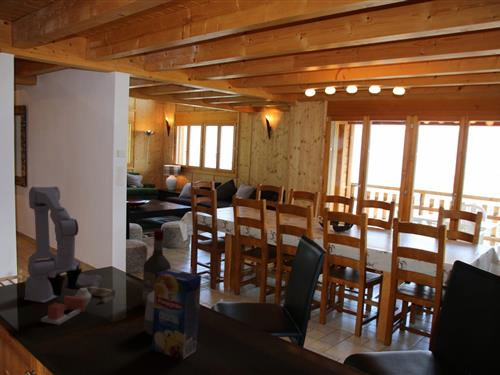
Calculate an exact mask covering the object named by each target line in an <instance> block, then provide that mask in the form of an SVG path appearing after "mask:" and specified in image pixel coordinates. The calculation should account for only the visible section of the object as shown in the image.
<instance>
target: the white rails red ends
mask: <svg viewBox="0 0 500 375" xmlns="http://www.w3.org/2000/svg"><path fill="white" fill-rule="evenodd" d="M63 297H64V299H63V302H64V303H61V302H53V303H51V304H49V305H48V306H47V315H46V316H43V317H42V318H41V319H40V321H41V322H40V323H47V324H53V325H61V324H63V323H64V322H66V321H68V320H70V319H72V318H73V317H76V315H78V314H81V313H84V312H86V306H85V299H84V298H78V297H74V296H71V295H65V296H63ZM68 309H69V311H70V312H69V313H67V314H65V311H68Z"/></svg>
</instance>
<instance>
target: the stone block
mask: <svg viewBox="0 0 500 375" xmlns="http://www.w3.org/2000/svg"><path fill="white" fill-rule="evenodd" d="M102 283H103V276H102V275H100V274H91V275H87V274H84V273H80V275H79V277H78V279H77V282H76V286H75V288H79V289H80V288H85V287H87V286H92V287H98V288H99V286H101V285H102Z"/></svg>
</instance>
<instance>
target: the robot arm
mask: <svg viewBox="0 0 500 375" xmlns="http://www.w3.org/2000/svg"><path fill="white" fill-rule="evenodd" d="M28 191H29V192H28V205H29V208H30V209H31V210H33V212H34V224H35V226H34V227H35V228H34V229H35V249H36V251H35V252H34V253H33V254H32V255H30V256H29V258H28V264H27V271H28V275H29V276H28V277H27V278H26V280H25V283H24V284H25V285H24V287H25V290H24V291H25V294H24V297H23V300H27V301H31V302H38V303H46V302H49V301H51V300H53V299H56V298H57V297H61V295H62V291H63V290H62V289H63V284H64V281H65V279H66V277H67V287H68V288H67V289H70V290H75V289H76V287H75V286H76V282H77V279H78V277H79V275H80V274H82V272H83V271H82V270H83V269H82V268H81V261H78V260H77V261H75V256H76V255H75V254H76V253H75V252H76V251H75V250H76V244H75V243H76V236H77V235H78V233H79V224H78V220H77V219H75V218H71V216H70V214H69V212H68V211H67V209H66V208H65V207H63V206H61V203H60V200H61V192H60V188H58V186H44V187H43V186H40V187H39V186H36V187H35V186H31V188H30V189H29V190H28ZM49 211H50V213H49ZM49 218H50V219H51V221H52V223H53V224H54V233H55V242H56V254H55V253H54V252H52V251H51V246H50V226H49V225H50V224H49V223H50V222H49V221H50V220H49ZM64 273H66V276H61V274H64Z"/></svg>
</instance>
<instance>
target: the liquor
mask: <svg viewBox="0 0 500 375" xmlns="http://www.w3.org/2000/svg"><path fill="white" fill-rule="evenodd" d="M164 233H165V232H164V230H163V229H154V232H153V252H152V254H151V256H150V257H149V258H147V259H146V260H145V262H144V263H143V273H142V275H143V277H142V295H141V298H142V299H141V304H142V307H143V308H144V307H145V308H144V309H146V304H147V297H148V295H149V294H150V293H151V292H152V291H155V274H156V273H159V272H162V271H165V270H168V269H172V268H171V267H172V266H171V264H170V261H168V258H167V257H166V256H165V255H164V252H163V251H164V250H163V247H164V246H163V245H164V244H163V240H164Z"/></svg>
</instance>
